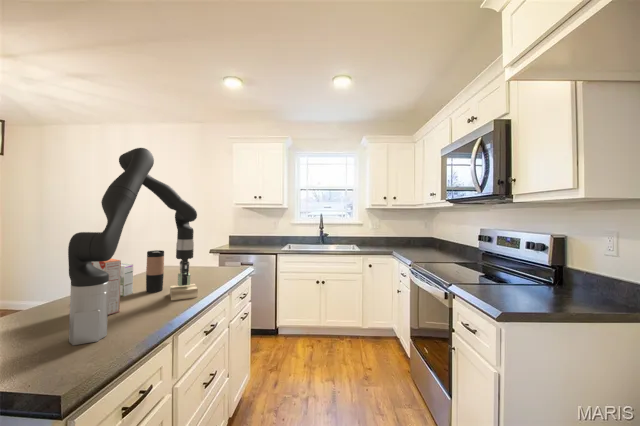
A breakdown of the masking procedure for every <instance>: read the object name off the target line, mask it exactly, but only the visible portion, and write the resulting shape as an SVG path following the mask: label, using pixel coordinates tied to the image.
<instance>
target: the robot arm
mask: <svg viewBox="0 0 640 426" xmlns="http://www.w3.org/2000/svg"><path fill="white" fill-rule="evenodd" d="M154 162H155V159H154V156H153V153H152V152H151V151H150V150H149V149H148V148H145V147H136V148H133V149H131V150H128V151H126V152H125V153H122V154H120V156H119V157H118V163H119V166H120V167H121V168H122V170H123V172H122V173H121V174H119V175H118V177H117V178H115V179H114V180H113V181H112V182H111V183H110V185H109V186H108V187H107V189H106V191H105V192H104V194H103V196H102V198H101V202H100V203H101V208H102V211H103V213H104V215H105V217H106V220H107V222H106V226H105V228H104V229H103V231H101V232H99V231H96V232H93V231H92V232H91V231H81V232H77V233H75V234H73V235H72V236H71V238H70V240H69V243H68V246H67V247H68V248H67V255H68V256H67V257H68V259H67V261H68V276H69V279H70V293H69V295H70V296H69V297H70V299H69V320H68V321H69V324H68V330H69V331H68V344H71V346H77V345H83V344H90V343H96V342H99V341H100V340H102V339H103V338H105V337H107V335H108V317H109V315H108V286H109V274H108V273H107V272H106V271H103V270H100V269H98V268H96V267H95V266H93V265H92V262H102V261H108V260H110V259H113V258H112V257H114V255H115V254H116V251H117V248H118V245H119V242H120V239H121V236H122V232H123V229H124V226H125V224H126V222H127V219H128V217H129V215H130V212H131V210H132V208H133V207H134V204H135V202H136V200H137V197H138V195H139V192H140V190H141V189H142V186H144V187H146V188H147V189H148V190H149V191H150V192H152V193H153V194H154V195H156V197H157V198H159V199H160V201H161V202H162V203H164V205H166V206H167V208H168V209H170V210H173V211H175V214H174V221H175V226H176V230H177V235H176V236H177V237H176V238H177V239H176V247H175V248H176V249H175V251H176V252H175V253H176V254H175V259H177V260H180V261H179V272H180V273H182V285H187V277H188V273H190V261H189V260H190V259H194V251H195V250H194V249H195V248H194V246H195V244H194V228H193V227H192V226H190V222H191V223H192V222H194V221H196V219H197V218H198V212H197V209H195V207H193V206H192V205H191V204H190V203H189V202H188V201H186V200H185V199H183V198H182V197H181V196H180V194H178V193H177V192H176V190H175V189H174V188H173V187H171V186H170V185H169V184H166V182H165V183H164V182H162V181H160V180H158V179H156V178H154V177H153V176H151V175H150V174H149V173H150V171H151V170H152V169H153V167H154ZM184 273H186V274H184Z"/></svg>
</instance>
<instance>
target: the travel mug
mask: <svg viewBox="0 0 640 426" xmlns="http://www.w3.org/2000/svg"><path fill="white" fill-rule="evenodd" d="M164 271H165V250H160V249H159V250H157V249H156V250H155V249H154V250H148V251H147V252H146V270H145V272H146V273H145V274H146V275H145V287H146V288H145V291H146V293H148V294H149V293H151V294H152V293H160V292H162V291H163V289H164V275H165V272H164Z"/></svg>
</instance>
